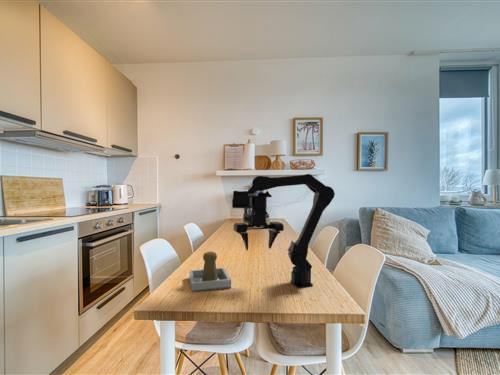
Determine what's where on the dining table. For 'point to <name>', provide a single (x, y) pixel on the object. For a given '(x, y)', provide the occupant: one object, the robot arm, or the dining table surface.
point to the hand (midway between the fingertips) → (258, 249)
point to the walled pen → (201, 285)
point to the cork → (209, 267)
